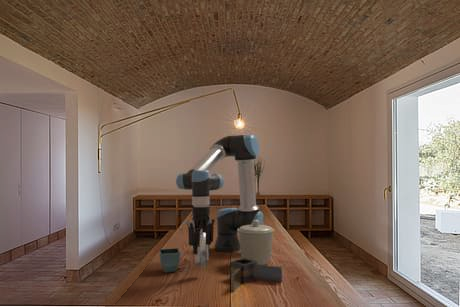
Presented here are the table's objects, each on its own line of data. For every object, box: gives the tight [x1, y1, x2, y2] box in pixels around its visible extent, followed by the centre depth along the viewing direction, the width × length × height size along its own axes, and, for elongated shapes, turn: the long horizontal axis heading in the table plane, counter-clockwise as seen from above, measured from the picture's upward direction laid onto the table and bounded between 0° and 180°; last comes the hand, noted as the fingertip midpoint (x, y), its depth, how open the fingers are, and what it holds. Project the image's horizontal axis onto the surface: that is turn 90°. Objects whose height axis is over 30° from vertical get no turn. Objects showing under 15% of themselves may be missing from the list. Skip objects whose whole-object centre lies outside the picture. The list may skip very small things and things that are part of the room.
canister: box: [237, 220, 275, 266], centre depth 169 cm, size 18×18×21 cm
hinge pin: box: [196, 231, 207, 268], centre depth 150 cm, size 4×4×14 cm
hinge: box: [230, 257, 283, 292], centre depth 141 cm, size 22×18×7 cm
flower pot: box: [158, 247, 181, 273], centre depth 158 cm, size 9×9×9 cm
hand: (201, 260), depth 149 cm, fingers closed on hinge pin, 4 cm apart
